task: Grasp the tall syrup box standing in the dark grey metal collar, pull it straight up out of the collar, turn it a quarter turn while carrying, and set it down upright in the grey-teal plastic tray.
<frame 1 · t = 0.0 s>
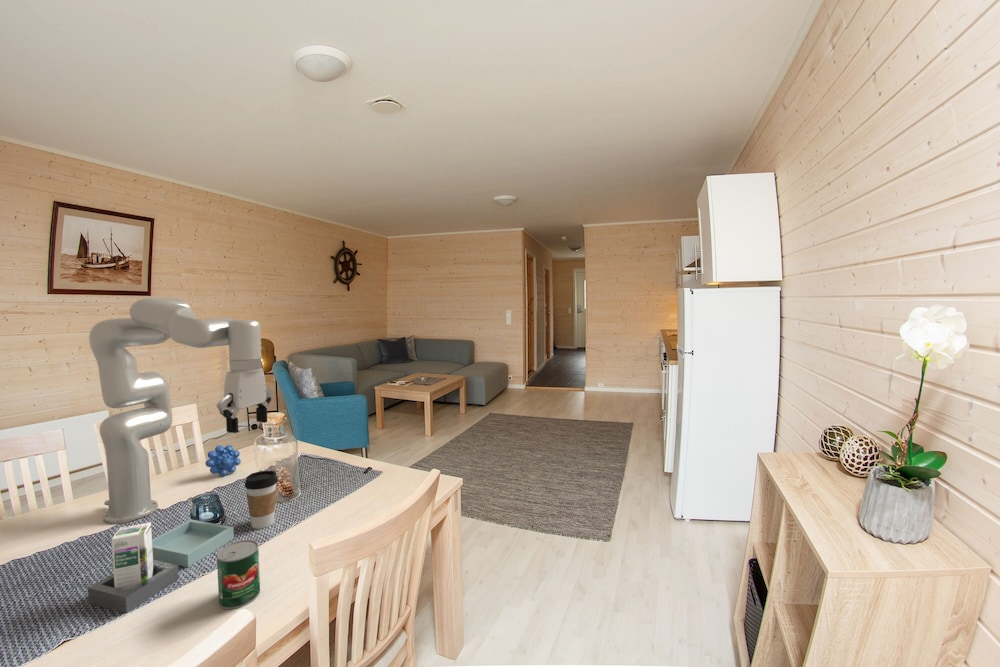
hand: (247, 426, 114), 31 cm above the table, fingers open, 9 cm apart
grapes: (225, 477, 155), on the table
collar: (135, 590, 94), on the table
coffee cup: (262, 524, 123), on the table
tray: (189, 547, 111), on the table
syrup box: (135, 591, 94), resting in collar
canned tomato: (239, 597, 93), on the table
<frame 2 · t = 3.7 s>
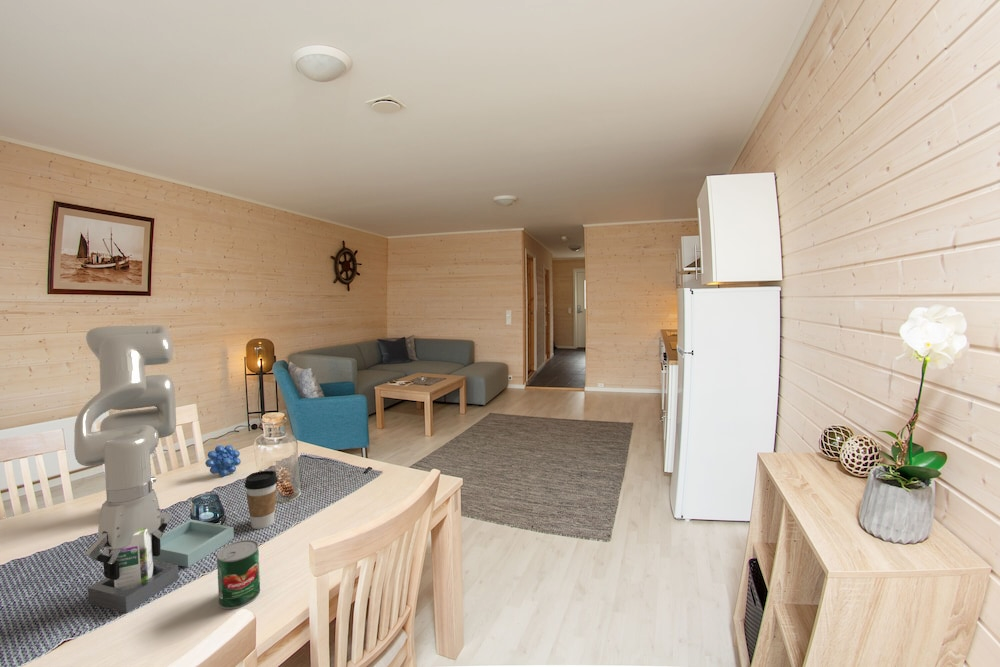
hand: (134, 565, 94), 6 cm above the table, fingers closed on syrup box, 7 cm apart
syrup box: (135, 591, 94), resting in collar, touching gripper
everything else where it was.
when the fingers open (8 cm above the table, at t = 11.6 s): syrup box drops 1 cm, resting on tray.
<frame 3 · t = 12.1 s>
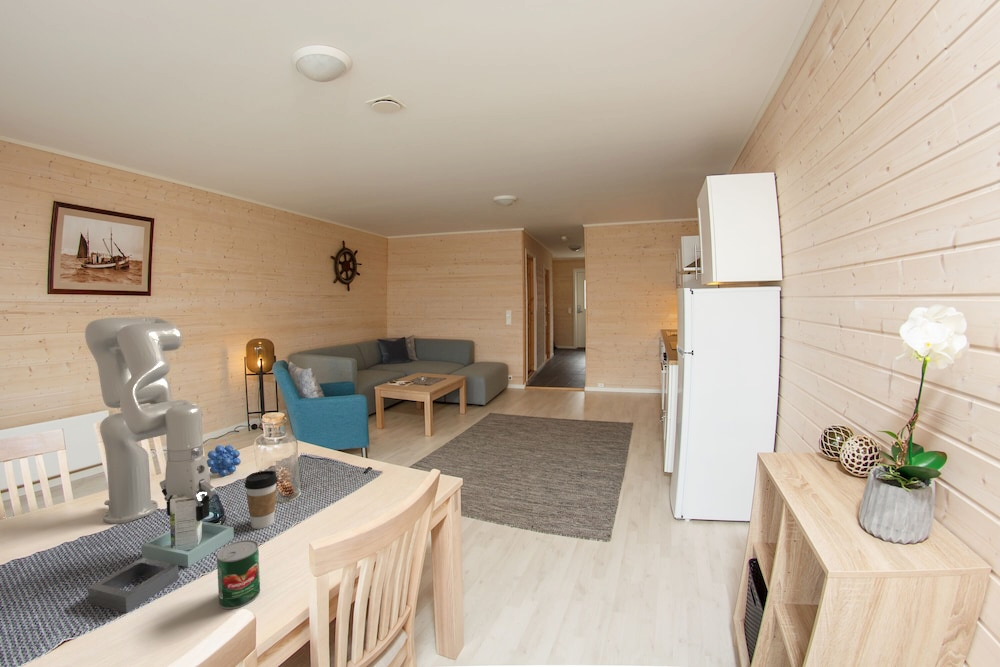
hand: (188, 515, 110), 9 cm above the table, fingers open, 9 cm apart
syrup box: (187, 546, 110), point 1 cm above the table, touching tray
everything else where it was.
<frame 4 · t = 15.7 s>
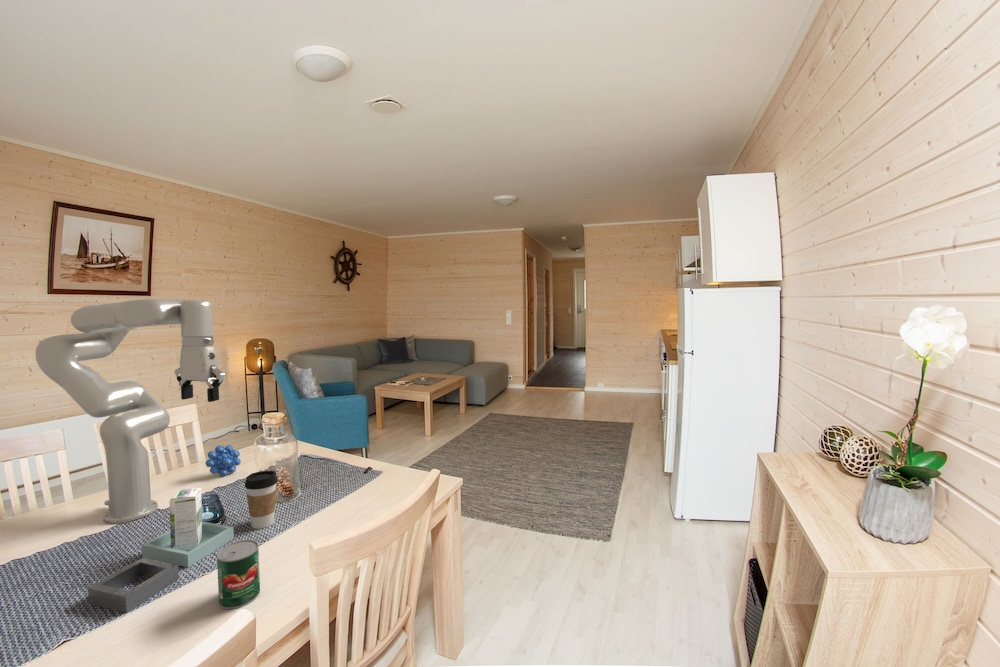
hand: (200, 399, 123), 36 cm above the table, fingers open, 9 cm apart
nothing on the table moved.
at the end: syrup box inside the target area on the tray (0.5 cm from its centre), point 0.6 cm above the tray's base; syrup box tilted 0°; the gripper is holding nothing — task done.
